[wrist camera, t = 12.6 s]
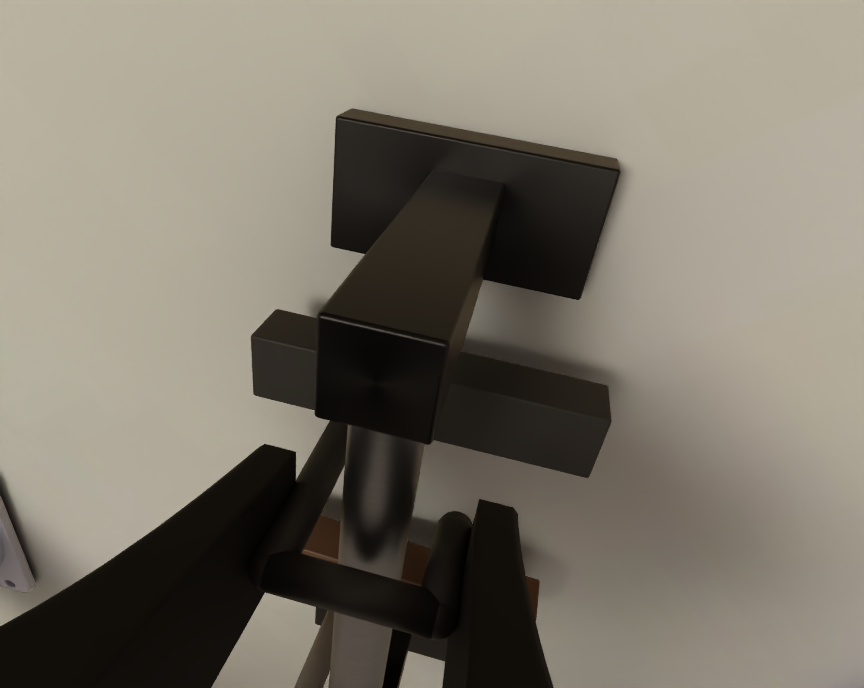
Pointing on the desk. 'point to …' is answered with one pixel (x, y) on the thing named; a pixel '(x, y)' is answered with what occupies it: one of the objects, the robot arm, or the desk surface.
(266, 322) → the black hanger
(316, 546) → the walnut hanger
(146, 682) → the robot arm
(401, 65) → the desk surface
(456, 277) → the rail stand
